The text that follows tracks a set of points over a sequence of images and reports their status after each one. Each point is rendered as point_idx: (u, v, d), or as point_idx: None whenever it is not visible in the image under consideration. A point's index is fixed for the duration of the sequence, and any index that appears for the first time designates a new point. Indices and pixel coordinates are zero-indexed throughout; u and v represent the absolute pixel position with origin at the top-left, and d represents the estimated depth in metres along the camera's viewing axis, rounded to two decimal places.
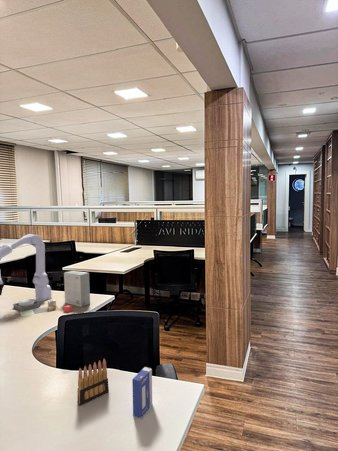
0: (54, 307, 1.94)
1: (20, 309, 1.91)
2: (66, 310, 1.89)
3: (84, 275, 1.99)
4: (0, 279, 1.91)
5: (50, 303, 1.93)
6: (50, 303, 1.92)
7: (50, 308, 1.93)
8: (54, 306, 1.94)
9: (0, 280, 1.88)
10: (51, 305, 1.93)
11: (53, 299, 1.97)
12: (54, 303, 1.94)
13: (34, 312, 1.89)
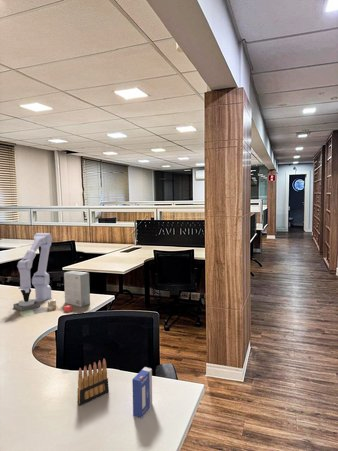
0: (54, 307, 1.94)
1: (20, 309, 1.91)
2: (66, 310, 1.89)
3: (84, 275, 1.99)
4: (29, 287, 1.96)
5: (50, 303, 1.93)
6: (50, 303, 1.92)
7: (50, 308, 1.93)
8: (54, 306, 1.94)
9: (28, 288, 1.93)
10: (51, 305, 1.93)
11: (53, 299, 1.97)
12: (54, 303, 1.94)
13: (34, 312, 1.89)
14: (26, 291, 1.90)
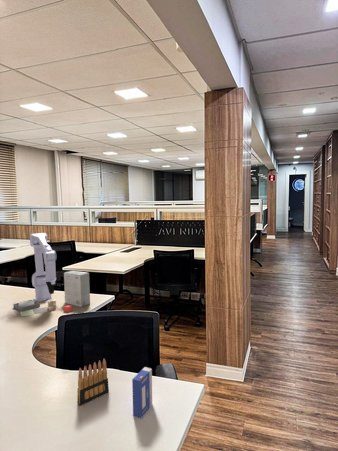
0: (54, 307, 1.94)
1: (20, 309, 1.91)
2: (66, 310, 1.89)
3: (84, 275, 1.99)
4: (54, 279, 1.92)
5: (50, 303, 1.93)
6: (50, 303, 1.92)
7: (50, 308, 1.93)
8: (54, 306, 1.94)
9: (53, 280, 1.90)
10: (51, 305, 1.93)
11: (53, 299, 1.97)
12: (54, 303, 1.94)
13: (34, 312, 1.89)
14: (52, 283, 1.87)
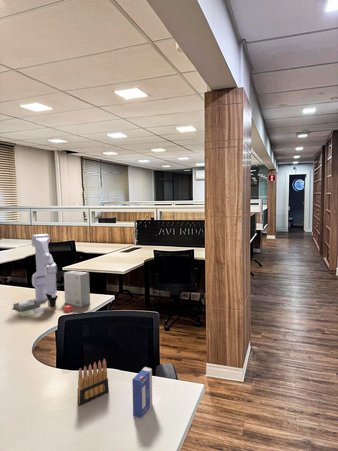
0: (54, 307, 1.94)
1: (20, 309, 1.91)
2: (66, 310, 1.89)
3: (84, 275, 1.99)
4: (55, 292, 1.93)
5: None
6: None
7: (50, 308, 1.93)
8: None
9: (54, 293, 1.91)
10: None
11: None
12: None
13: (34, 312, 1.89)
14: (53, 296, 1.88)
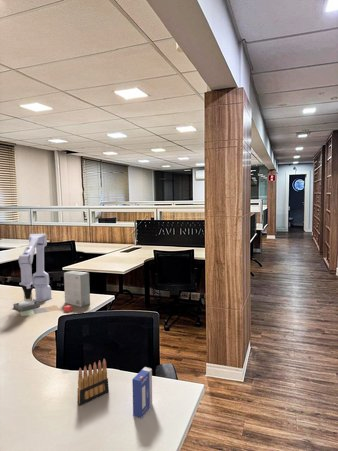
0: (30, 299, 1.87)
1: (20, 309, 1.91)
2: (66, 310, 1.89)
3: (84, 275, 1.99)
4: (30, 283, 1.86)
5: None
6: None
7: (26, 300, 1.86)
8: (30, 298, 1.87)
9: (29, 284, 1.83)
10: None
11: None
12: None
13: (34, 312, 1.89)
14: (27, 287, 1.81)
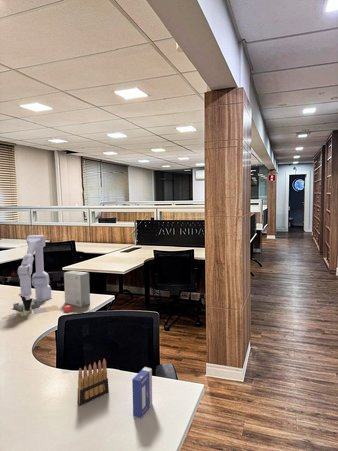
0: (29, 311, 1.87)
1: (20, 309, 1.91)
2: (66, 310, 1.89)
3: (84, 275, 1.99)
4: (30, 294, 1.86)
5: None
6: None
7: (25, 312, 1.86)
8: None
9: (28, 295, 1.84)
10: None
11: None
12: None
13: (34, 312, 1.89)
14: (26, 298, 1.81)
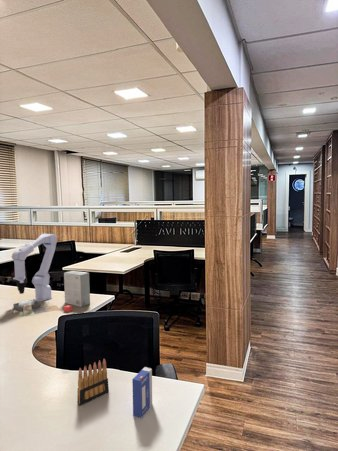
0: (29, 311, 1.87)
1: (20, 309, 1.91)
2: (66, 310, 1.89)
3: (84, 275, 1.99)
4: (23, 277, 1.97)
5: (25, 307, 1.86)
6: (25, 307, 1.86)
7: (25, 312, 1.86)
8: (29, 310, 1.87)
9: (22, 279, 1.94)
10: (27, 309, 1.86)
11: (29, 303, 1.90)
12: (29, 307, 1.87)
13: (34, 312, 1.89)
14: (21, 281, 1.92)
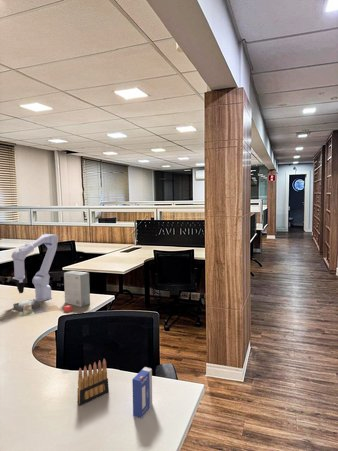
0: (29, 311, 1.87)
1: (20, 309, 1.91)
2: (66, 310, 1.89)
3: (84, 275, 1.99)
4: (23, 277, 1.98)
5: (25, 307, 1.86)
6: (25, 307, 1.86)
7: (25, 312, 1.86)
8: (29, 310, 1.87)
9: (22, 278, 1.95)
10: (27, 309, 1.86)
11: (29, 303, 1.90)
12: (29, 307, 1.87)
13: (34, 312, 1.89)
14: (20, 281, 1.92)
